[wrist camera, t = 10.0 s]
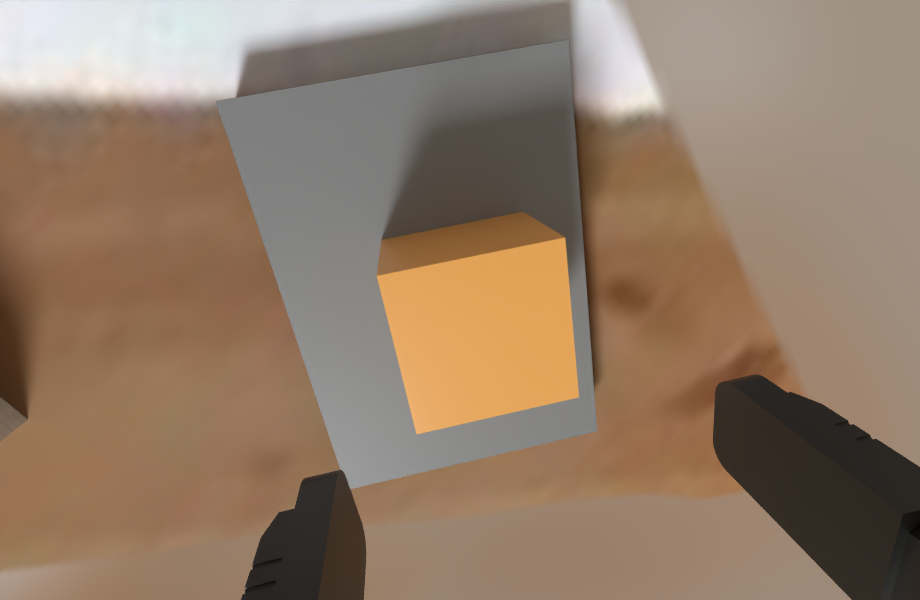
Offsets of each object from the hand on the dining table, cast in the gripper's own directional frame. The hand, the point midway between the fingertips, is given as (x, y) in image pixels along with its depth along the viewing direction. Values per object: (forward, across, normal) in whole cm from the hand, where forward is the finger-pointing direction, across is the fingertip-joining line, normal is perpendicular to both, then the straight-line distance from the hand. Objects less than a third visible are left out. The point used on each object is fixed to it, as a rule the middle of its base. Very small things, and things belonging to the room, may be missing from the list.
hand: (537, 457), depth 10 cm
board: (+13, +1, 0) cm, 13 cm away
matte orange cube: (+11, 0, 0) cm, 11 cm away
